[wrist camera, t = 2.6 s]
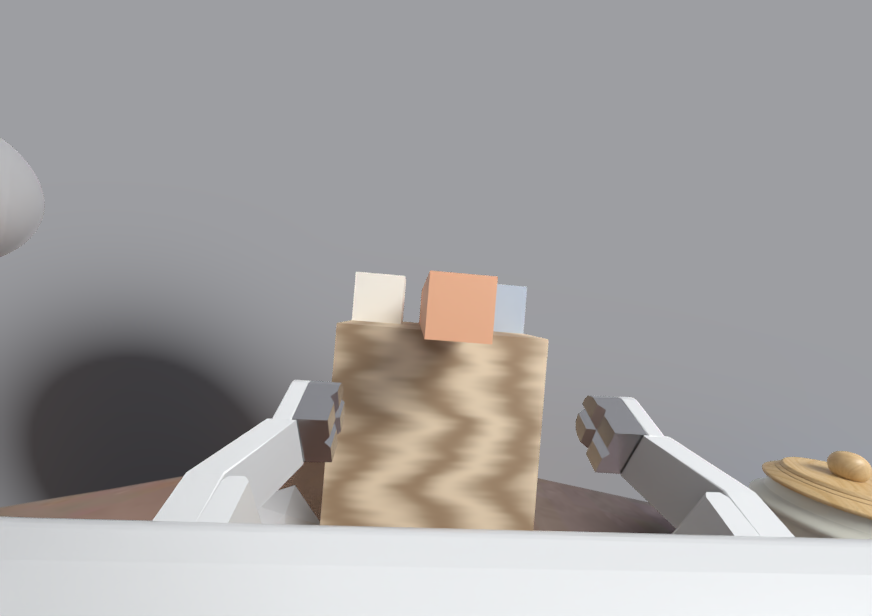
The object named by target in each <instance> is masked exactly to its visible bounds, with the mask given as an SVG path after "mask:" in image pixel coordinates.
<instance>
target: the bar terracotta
mask: <svg viewBox="0 0 872 616" xmlns="http://www.w3.org/2000/svg"><path fill="white" fill-rule="evenodd" d="M497 279H498V277H495V276H485V275H473V274H462V273H451V272H440V271H430V272H429V275H428V277H427V279H426V282H425V284H424V287H423V289H422V295H421V308H420V320H419V324H420V327H421V330H422V333H423V336H424V339H428V340H441V341H454V342H467V343H480V344H492V342H493V329H494V317H495V305H496V293H497Z"/></svg>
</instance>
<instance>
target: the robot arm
mask: <svg viewBox="0 0 872 616" xmlns="http://www.w3.org/2000/svg"><path fill="white" fill-rule="evenodd" d="M44 208H45V204H44V195H43V191H42V187H41V185H40V183H39V180H38V178H37V176H36V175H35V173H34V171H33V170H32V168H31V167H30V166H29V164H28V163H27V162H26V160H25V159H24V158H23V157H22V156H21V155H20V154H19V153H18V152H17V151H16V150H15V149H14V148H13V147H12V146H11V145H9V144H8V143H7V142H6V141H4V140H2V139H1V138H0V257H2V256H4V255H6V254H8V253H10V252H12V251H14V250H16V249H17V248H19V247H20V246H22V245H23V244H24V243H25V242H27V241H28V240H29V239H30V238H31V237H32V236H33V234H34V233H35V232H36V230H37V229H38V227H39V225H40V224H41V221H42V218H43V215H44ZM343 393H344V389H343V384H342V383H337V382H323V381H305V380H294V381H293V382H292V383H291V384H290V386H289V388H288V390H287V392H286V394H285V396H284V398H283V400H282V401H281V403H280V405H279V407H278V409H277V411H276V413H275V414H274V416H273V418H272V419H266V420H264V421H263V422H261V423H260V424H258V425H257V426H255V427H254V428H252V429H251V430H249V431H248V432H246V433H245V434H243V435H242V436H240V437H239V438H237V439H236V440H234V441H233V442H231V443H230V444H228V445H227V446H226V447H224V448H222V449H221V450H220V451H218V452H216V453H215V454H213V455H212V456H210V457H209V458H207V459H206V460H204V461H203V462H201V463H200V464H198V465H197V466H195V467H194V468H192V469H191V470H189V471H188V472H186V474H185V475H184V477H183V478H182V479H181V481H180V482H179V484H178V485H177V487H176V488H175V489H174V491H173V492H172V494H171V495H170V497H169V498H168V499H167V501H166V502H165V504H164V505H163V506H162V508H161V509H160V511H159V512H158V514H157V515H156V516H155V518H154V519H153V521H140V520H101V519H62V518H24V517H0V616H872V539H846V538H806V537H795V536H794V535H793V534H792V533H791V532H790V531H789V530H788V529H787V527H786V526H785V525H784V524H783V523H782V522H781V521H780V520H779V518H778V517H777V516H776V515H775V514H774V513H773V512H772V511H771V509H770V508H769V507H768V506H767V505H766V504H765V503H764V502H763V500H762V499H761V498H760V497H759V496H758V495H757V494H756V493H755V492H754V491H752V490H751V489H749V488H748V487H746V486H744V485H743V484H741V483H740V482H738V481H737V480H735V479H734V478H732V477H730V476H729V475H727V474H725V473H724V472H723V471H721V470H720V469H718V468H717V467H715V466H714V465H712V464H710V463H709V462H707V461H706V460H704V459H703V458H701V457H700V456H698V455H697V454H695V453H693V452H692V451H690V450H689V449H687V448H686V447H684V446H683V445H681V444H680V443H678V442H677V441H675V440H673V439H672V438H670V437H667V436H666V437H665V436H664V435H663V434H662V433H661V431H660V430H659V429H658V427H657V426H656V425H655V424H654V422H653V421H652V420H651V418H650V417H649V416H648V414H647V413H646V412H645V410H644V409H643V408H642V407H641V405H640V404H639V403H638V401H637V400H636V399H634V398H633V397H609V396H608V397H607V396H587V397H586V398H585V400H584V402H583V406H584V408H585V409H584V410H583V411H581V412H580V413H579V414H578V416H577V419H576V431H577V435H578V438H579V440H580V442H581V443H583V444H584V445H585V446H586V447H587V448H588V449H587V453H586V454H587V457H588V458H589V461H590V463H591V465H592V467H593V469H594V471H595V472H600V473H616V474H621V476H622V477H623V478H624V479H625V480H626V481H627V482H628V483H629V484H630V485H631V486H632V487H634V489H636V490H637V491H638V492H639V493H640V494H641V495H642V496H643V497H644V498H645V499H646V500H647V501H648V502H649V503H650V504H651V505H652V506H653V507H654V508H655V509H656V510H657V511H658V512H659V513H660V514H661V515H662V516H663V517H664V518H666V519H667V520H668V521H669V522H670V523H671V524H672V525H673V526H674V527H675V528H676V530H675V531H674V532H673V533H672V534H650V533H610V532H569V531H529V530H489V529H451V528H412V527H373V526H334V525H295V524H262V523H261V520H260V516H259V513H258V510H259V509H260V508H261V507H262V506H263V505H264V504H265V503H266V502H267V501H268V500H269V499H270V498H271V497H272V496H273V495H274V494H275V493H276V492H277V490H278V489H279V488H280V487H281V486H282V485H283V484H284V483H285V482H286V481H287V480H288V479H289V478H290V477H291V476H292V475H293V474H294V473H295V472H296V471H297V470H298V469H299V468H300V467H301V466H302V465H303V462H332V461H333V457H334V454H335V451H336V447H337V444H338V443H337V435H338V434H339V433H340V432H341V430H342V426H343V421H344V415H345V402H344V401H343V400H342V396H343Z"/></svg>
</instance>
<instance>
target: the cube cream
mask: <svg viewBox="0 0 872 616" xmlns="http://www.w3.org/2000/svg"><path fill="white" fill-rule="evenodd" d="M405 287H406V278H405V276H399V275H388V274H376V273H364V272H356V279H355V290H354V303H353V315H352V320H356V321H369V322H381V323H394V324H401V323H402V322H403V311H404V299H405Z"/></svg>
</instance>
